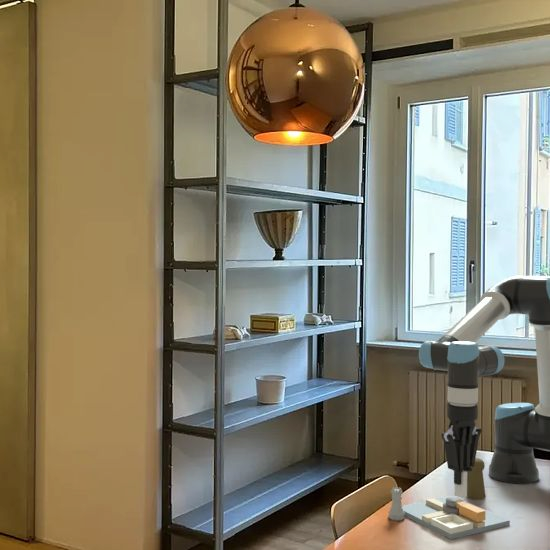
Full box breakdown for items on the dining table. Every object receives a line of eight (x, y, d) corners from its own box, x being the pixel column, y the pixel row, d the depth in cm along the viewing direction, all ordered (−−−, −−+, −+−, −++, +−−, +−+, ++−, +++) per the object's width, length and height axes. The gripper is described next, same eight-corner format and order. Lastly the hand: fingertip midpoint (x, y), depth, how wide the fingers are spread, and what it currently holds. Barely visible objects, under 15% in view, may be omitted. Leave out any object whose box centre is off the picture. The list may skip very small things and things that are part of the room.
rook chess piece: (394, 522, 192) (394, 492, 191) (384, 516, 196) (385, 487, 195) (408, 519, 193) (408, 490, 193) (398, 514, 198) (399, 484, 197)
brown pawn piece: (486, 500, 208) (487, 462, 208) (464, 498, 210) (465, 461, 209) (484, 493, 214) (485, 456, 214) (463, 492, 215) (464, 455, 215)
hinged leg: (442, 507, 194) (442, 498, 194) (454, 504, 197) (454, 496, 196) (474, 522, 184) (474, 513, 184) (487, 519, 186) (487, 510, 186)
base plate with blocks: (451, 499, 209) (451, 487, 209) (509, 524, 190) (509, 511, 190) (396, 511, 200) (396, 498, 199) (451, 539, 180) (451, 525, 180)
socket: (452, 519, 190) (452, 513, 190) (473, 528, 184) (473, 522, 184) (431, 524, 187) (431, 518, 187) (450, 534, 180) (450, 528, 180)
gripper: (467, 398, 189) (465, 487, 190) (433, 403, 182) (431, 497, 182) (491, 402, 183) (489, 495, 184) (457, 408, 176) (455, 505, 176)
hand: (460, 496), depth 183 cm, fingers closed
